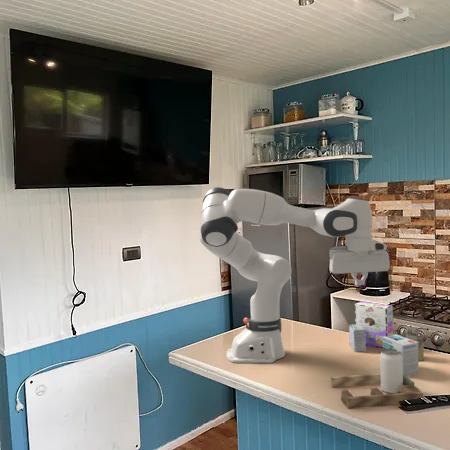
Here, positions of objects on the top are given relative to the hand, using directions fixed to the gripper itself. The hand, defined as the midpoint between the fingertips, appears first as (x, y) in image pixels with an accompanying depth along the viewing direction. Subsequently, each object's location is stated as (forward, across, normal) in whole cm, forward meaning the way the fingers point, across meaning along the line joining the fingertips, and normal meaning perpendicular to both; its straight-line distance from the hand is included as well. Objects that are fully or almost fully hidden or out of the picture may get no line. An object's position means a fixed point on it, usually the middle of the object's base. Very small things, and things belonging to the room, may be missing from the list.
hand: (359, 285), depth 160 cm
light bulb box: (+29, +12, -4) cm, 32 cm away
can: (+29, +2, -19) cm, 35 cm away
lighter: (+29, +22, +6) cm, 37 cm away
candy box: (+29, +14, +23) cm, 40 cm away
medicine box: (+29, +6, +20) cm, 36 cm away
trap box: (+29, -4, -21) cm, 36 cm away
